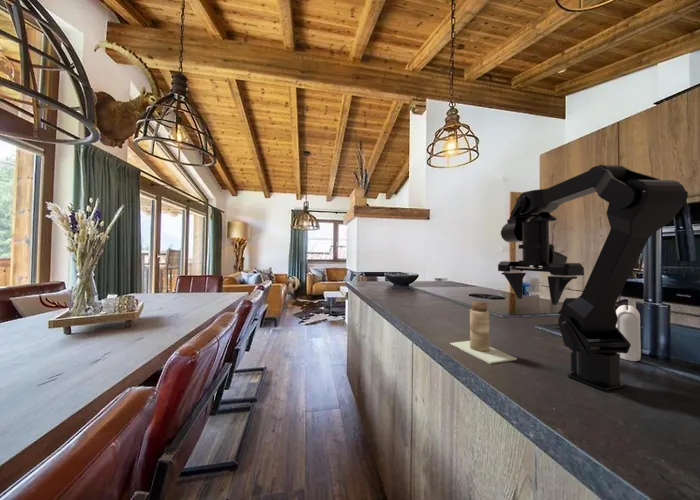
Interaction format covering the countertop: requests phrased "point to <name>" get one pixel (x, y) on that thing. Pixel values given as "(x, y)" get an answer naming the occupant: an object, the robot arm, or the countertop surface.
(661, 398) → the countertop surface
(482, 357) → the sage mat
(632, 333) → the white rounded-top upright
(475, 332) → the pepper mill
